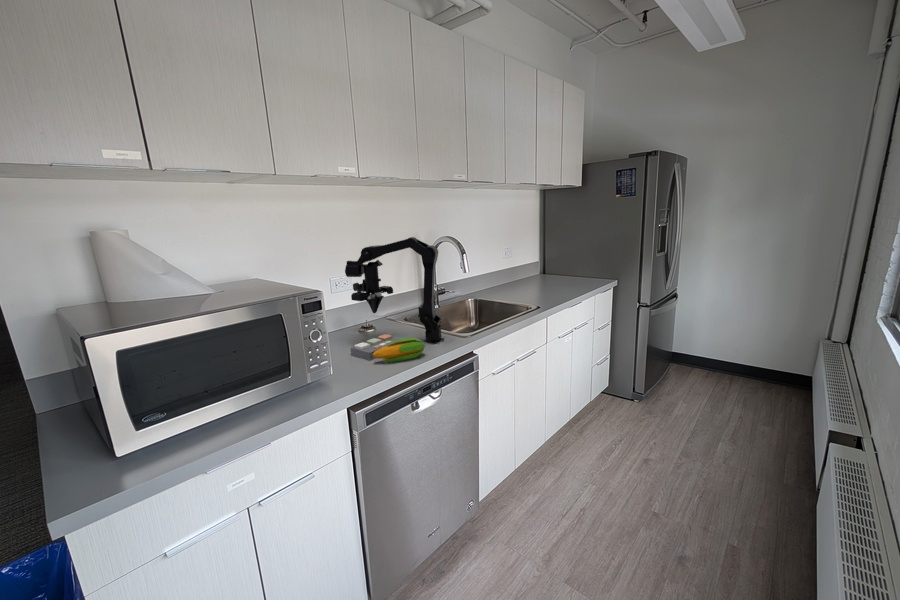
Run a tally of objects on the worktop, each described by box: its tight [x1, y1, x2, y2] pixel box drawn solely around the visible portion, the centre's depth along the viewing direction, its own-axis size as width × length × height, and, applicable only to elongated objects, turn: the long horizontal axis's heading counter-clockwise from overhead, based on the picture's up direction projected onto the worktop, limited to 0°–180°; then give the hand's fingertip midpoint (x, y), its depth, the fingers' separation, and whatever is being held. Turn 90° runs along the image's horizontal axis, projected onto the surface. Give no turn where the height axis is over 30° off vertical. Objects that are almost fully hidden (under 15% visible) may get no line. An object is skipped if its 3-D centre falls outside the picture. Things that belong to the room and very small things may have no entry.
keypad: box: [349, 336, 404, 361], centre depth 159 cm, size 18×11×3 cm, turn 143°
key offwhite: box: [353, 342, 370, 350], centre depth 156 cm, size 4×4×4 cm
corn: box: [372, 337, 426, 363], centre depth 149 cm, size 7×8×20 cm
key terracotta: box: [377, 333, 393, 341], centre depth 165 cm, size 4×4×4 cm
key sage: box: [365, 337, 382, 345], centre depth 160 cm, size 4×4×4 cm
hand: (374, 313), depth 170 cm, fingers closed
